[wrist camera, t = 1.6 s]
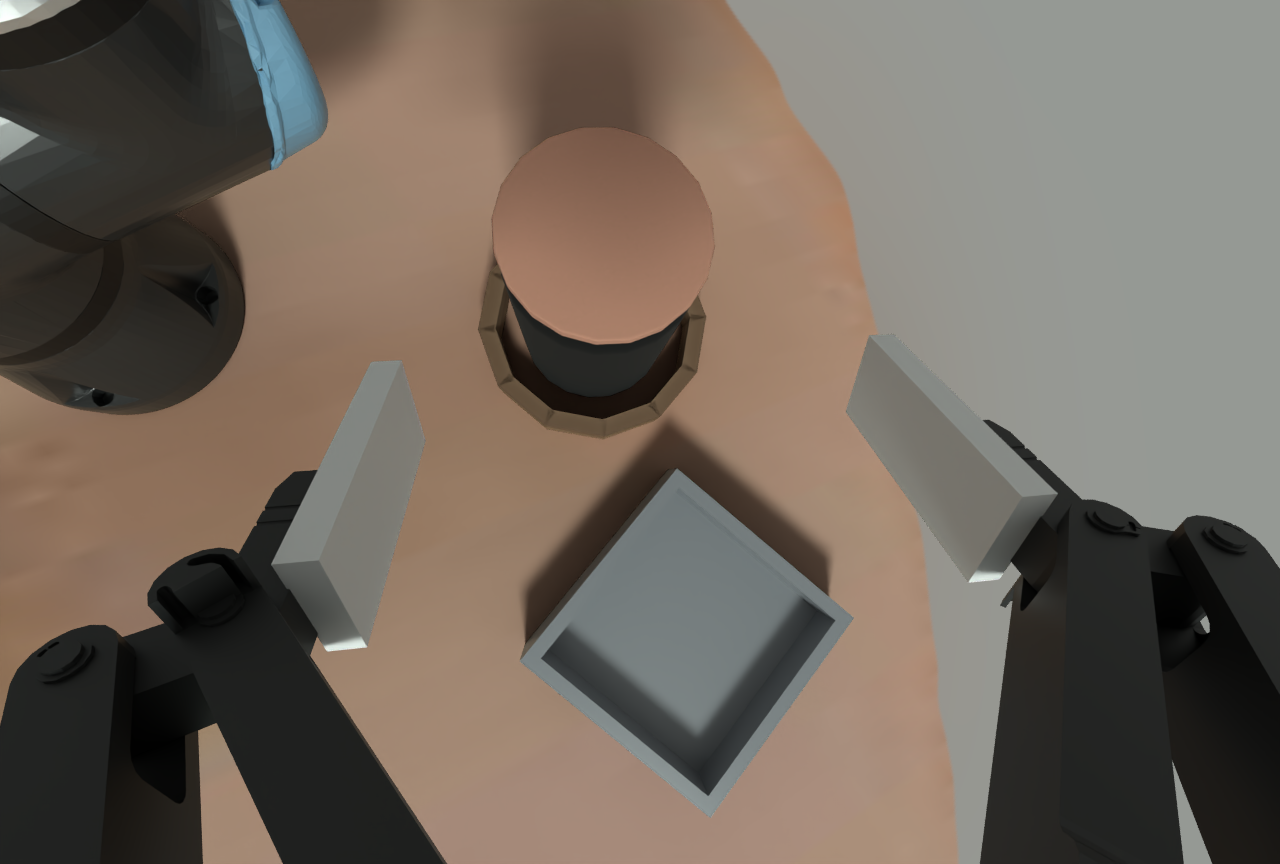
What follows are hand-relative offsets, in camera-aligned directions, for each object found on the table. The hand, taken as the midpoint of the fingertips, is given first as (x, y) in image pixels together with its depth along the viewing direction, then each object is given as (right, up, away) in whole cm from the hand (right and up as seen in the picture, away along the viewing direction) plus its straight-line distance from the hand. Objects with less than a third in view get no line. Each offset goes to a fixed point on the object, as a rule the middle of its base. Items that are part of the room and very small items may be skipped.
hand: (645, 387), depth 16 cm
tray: (+3, -16, +27) cm, 31 cm away
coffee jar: (-4, +7, +28) cm, 29 cm away
